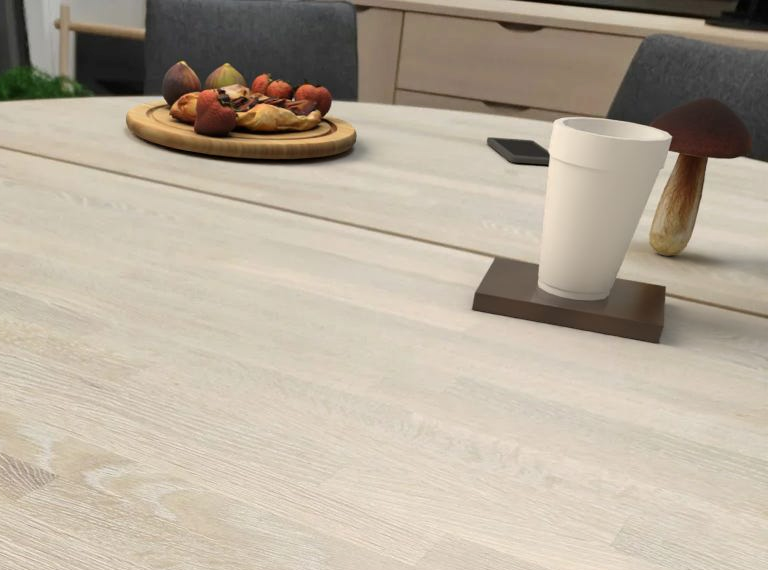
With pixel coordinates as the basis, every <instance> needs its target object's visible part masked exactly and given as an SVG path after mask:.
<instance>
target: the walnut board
mask: <svg viewBox="0 0 768 570" xmlns="http://www.w3.org/2000/svg"><path fill="white" fill-rule="evenodd" d="M538 273H539V264H537V263H530V262H526V261H525V262H524V261H519V260H513V259H507V258H501V257H494V259H493V261H492V262H491V264H490V266H489V268H487V271H486V273H485V275H484V276H483V277H482V279H481V282H480V283H479V285H478V287H477V288H476V289H475V292H474V295H473V301H472V305H471V306H472V307H471V310H473V311H478V312H484V313H489V314H496V315H501V316H506V317H511V318H516V319H523V320H527V321H534V322H540V323H544V324H551V325H555V326H560V327H567V328H572V329H578V330H583V331H589V332H594V333H599V334H605V335H612V336H616V337H622V338H628V339H631V340H632V339H633V340H637V341H638V340H639V341H644V342H650V343H655V344H660V340H661V337H662V334H663V331H664V328H665V317H666V316H665V315H666V314H665V313H666V297H667V293H666V292H667V286H665V285H660V284H654V283H648V282H643V281H638V280H631V279H625V278H620V277H616V279H615V282H614V284H613V287H612V288H611V289H610V293H609V295H608V296H607V297H606V298H605V299H600V300H594V301H589V300H575V299H569V298H563V297H559V296H556V295H553V294H550V293H548V292H546V291H544V290H543V289H541V288H539V285H538V279H539V276H538Z"/></svg>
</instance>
